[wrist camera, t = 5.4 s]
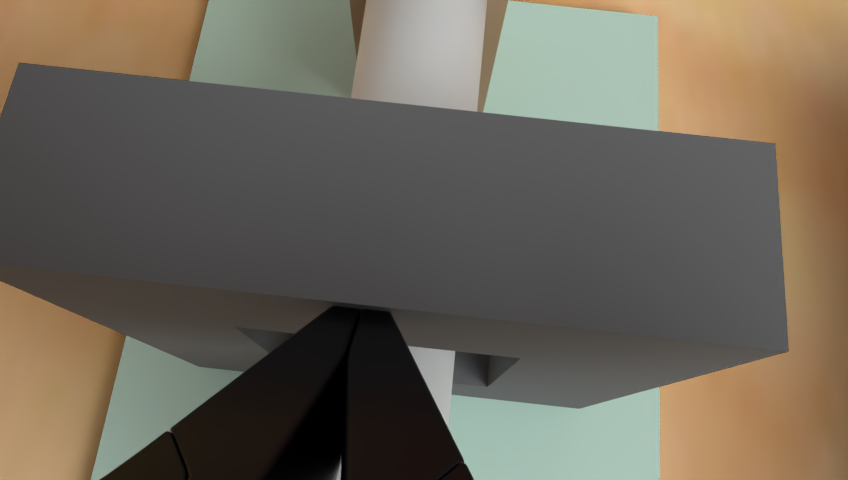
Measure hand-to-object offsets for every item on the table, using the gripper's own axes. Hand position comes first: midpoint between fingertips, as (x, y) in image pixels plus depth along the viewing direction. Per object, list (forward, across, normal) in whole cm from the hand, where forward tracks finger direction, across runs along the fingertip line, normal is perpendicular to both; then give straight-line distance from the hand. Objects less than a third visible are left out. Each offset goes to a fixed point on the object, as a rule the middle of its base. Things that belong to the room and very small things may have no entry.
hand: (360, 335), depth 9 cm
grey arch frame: (+8, 0, +6) cm, 10 cm away
